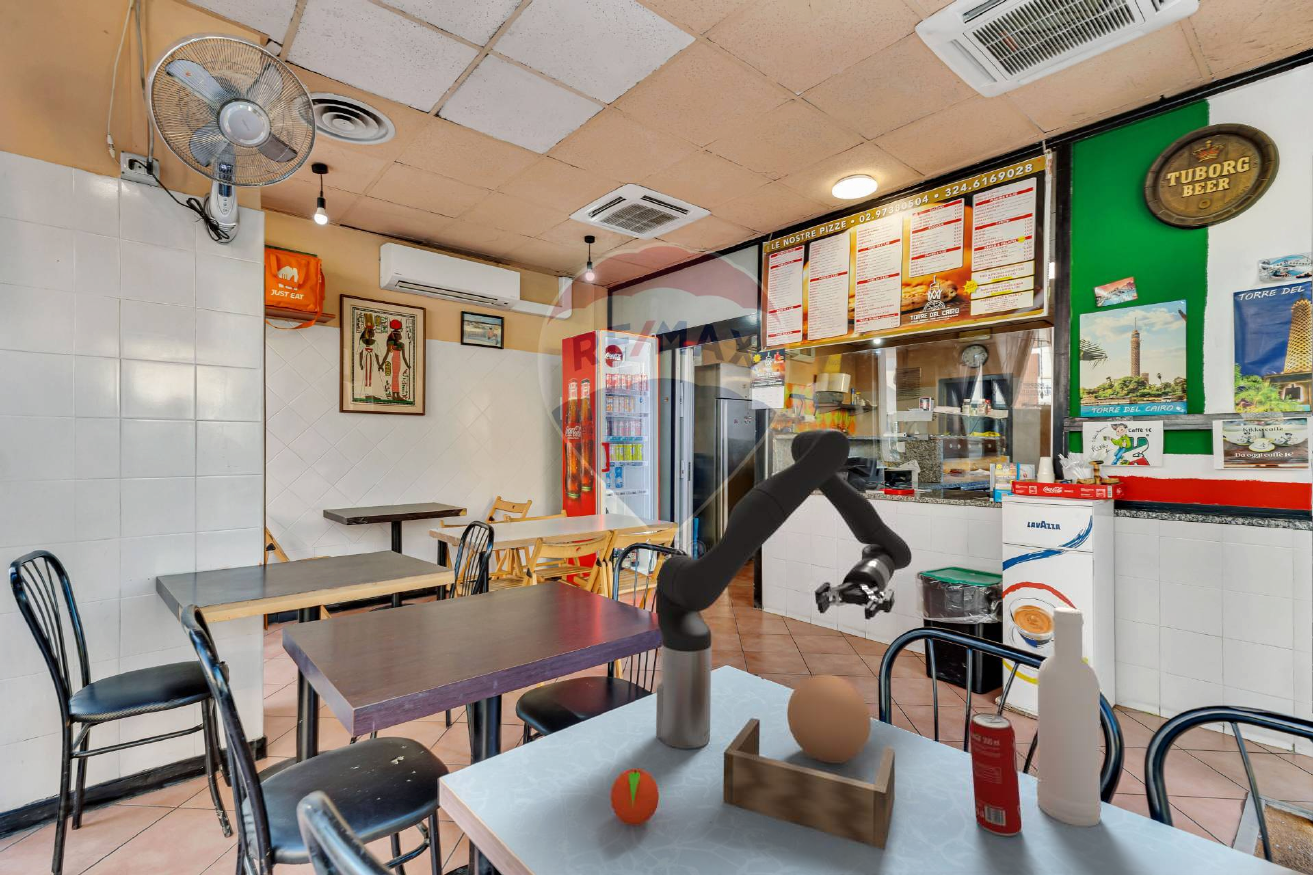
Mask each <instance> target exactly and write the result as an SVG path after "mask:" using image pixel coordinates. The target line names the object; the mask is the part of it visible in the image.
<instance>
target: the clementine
mask: <svg viewBox="0 0 1313 875" xmlns="http://www.w3.org/2000/svg"><path fill="white" fill-rule="evenodd" d="M610 790H611V792H610V803H611V808H612V809H613V810H612V811H613V812H614V815H615V816H616V817H617V818H618V820H619V821H621V822H623V823H624V824H626V825H629V826H638V825H642V824H644V823H646V822H647V821H649V820H650V819H651V818H652V816H653V815H654V814H655V812H656V810H657V808H658V805H659V799H660V796H659V794H660V793H659V788H658V785H657V783H656V780H655V779H654V778H653V777H652V775H651V774H650V773H648V772H647V771H645V770H642V769H639V768H630V769H627V770H626V771H623V773H621V774H619V775H618V777H617V778H616V779H615V780H614V783H613V785H612V787H611V789H610Z"/></svg>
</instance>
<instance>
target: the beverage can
mask: <svg viewBox="0 0 1313 875" xmlns="http://www.w3.org/2000/svg"><path fill="white" fill-rule="evenodd" d="M968 728H969V740H970V755H971V756H970V757H971V769H972V782H973V796H974V798H973V800H974V811H975V819H976V821H977V823H978V825H979V826H980V827H981V828H983V829H984V830H986V831H987V832H989V833H991V834H995V835H997V836H1005V837H1009V836H1011V837H1012V836H1015V835H1017V834H1019V833H1020V832H1021V830H1022V826H1023V825H1022V813H1021V800H1020V799H1021V798H1020V788H1019V785H1020V784H1019V775H1018V774H1019V771H1018V770H1019V769H1018V759H1017V746H1016V734H1015V733H1016V732H1015V730H1014V728H1013V725H1012V722H1011V721H1010V719H1008V718H1007V717H1005V716H1003V715H1000V714H995V713H988V712H979V713H974V714H973V715H972V716H971V720H970V723H969V727H968Z"/></svg>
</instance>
